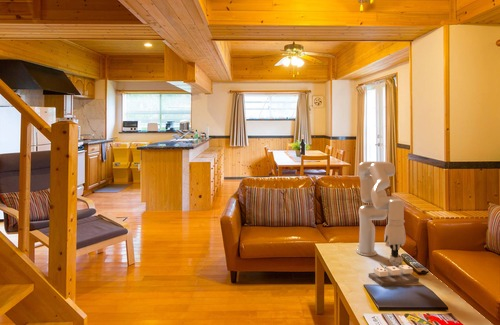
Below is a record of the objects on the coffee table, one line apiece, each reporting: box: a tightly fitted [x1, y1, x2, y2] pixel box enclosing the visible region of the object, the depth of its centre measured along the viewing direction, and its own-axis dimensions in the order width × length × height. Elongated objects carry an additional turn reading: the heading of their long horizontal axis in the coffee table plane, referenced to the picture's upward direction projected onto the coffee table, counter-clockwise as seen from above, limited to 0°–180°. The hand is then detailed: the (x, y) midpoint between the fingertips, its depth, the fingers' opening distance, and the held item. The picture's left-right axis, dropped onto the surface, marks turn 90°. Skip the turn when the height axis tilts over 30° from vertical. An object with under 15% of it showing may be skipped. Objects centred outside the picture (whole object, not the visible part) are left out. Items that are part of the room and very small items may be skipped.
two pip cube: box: [398, 264, 414, 274], centre depth 182 cm, size 5×5×3 cm
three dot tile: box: [373, 267, 388, 277], centre depth 178 cm, size 5×5×3 cm
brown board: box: [368, 272, 420, 288], centre depth 180 cm, size 12×22×2 cm, turn 104°
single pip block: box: [385, 265, 401, 275], centre depth 180 cm, size 5×5×3 cm
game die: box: [388, 253, 405, 268], centre depth 198 cm, size 9×8×10 cm
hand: (394, 256), depth 179 cm, fingers closed
